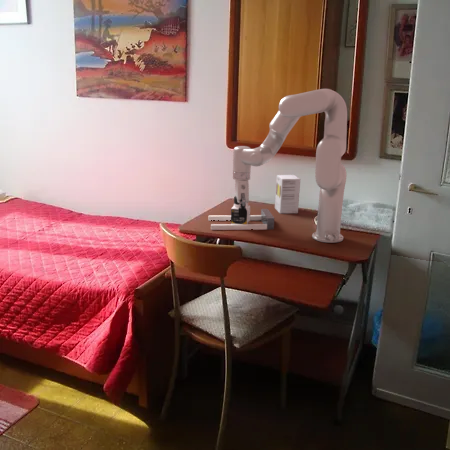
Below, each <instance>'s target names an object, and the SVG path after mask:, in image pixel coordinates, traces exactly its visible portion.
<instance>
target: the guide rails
mask: <svg viewBox="0 0 450 450" xmlns="http://www.w3.org/2000/svg"><path fill="white" fill-rule="evenodd" d="M211 220H212V221H213V220H215V222H217V221H218V220H219V221H220V222H221V221H224V222H226V220H228V221H230V220H231V214H230V215H225V214H224V215H223V214H222V215H219V214H217V215H216V214H215V215H210V214H209V215H208V220H207V221H209V222H210V221H211ZM250 221H262V216H261V214H253V215H252V214H250ZM213 222H214V221H213ZM230 222H231V221H230ZM251 229H253V230H256V231H258V230H268V229H267V224H263V223H248V224H231V223H229V224H228V223H220V224H219V223H218V224H217V223H216V224H215V223H211V224H210V230H211V231H217V230H218V231H221V230H223V231H225V230H226V231H227V230H228V231H229V230H231V231H232V230H234V231H236V230H237V231H240V230H247V231H248V230H251ZM253 230H252V231H253Z"/></svg>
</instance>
